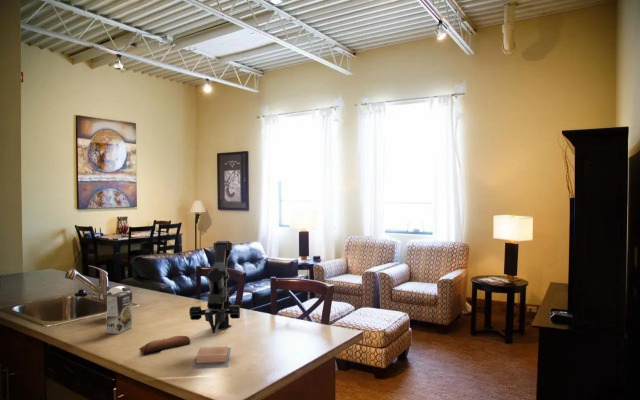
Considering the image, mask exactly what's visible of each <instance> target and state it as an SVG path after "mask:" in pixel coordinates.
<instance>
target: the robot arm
mask: <svg viewBox="0 0 640 400" xmlns="http://www.w3.org/2000/svg"><path fill="white" fill-rule="evenodd" d="M212 247H213V251H214V254H215V258H214V264H213V265H211V266H210V271H208V273H207V277H206V279H207V281H208V287H209V294H208V295H207V305H206V306H207V307H206V308H205V309H202V306H201V305H199V306H198V305H197V306H191V307H190V308H189V312H188V313H189V318H190V320H191V321H195V320H196V321H197V320H198V321H200V319H202V316H204V319H205V321H206V322H208V324H209V326H210V329H211V333H212V334H216V333H217V330H223V329H227V328H231V327H232V324H230V318H231V319H233V320H234V319H235V320H237V319H240V318H241V306H240V305H239V304H238V305H237V304H235V305H233V302H232V301H231V300H230V295H229V294H228V292H227V284H228V283H227V282H228V280H229V279H230V274H229V272H228V260H229V258H230V256H231V254H232V251H233V242H231V241H230V240H217V241H216V242H213V246H212Z"/></svg>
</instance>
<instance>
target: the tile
mask: <svg viewBox="0 0 640 400" xmlns="http://www.w3.org/2000/svg"><path fill="white" fill-rule="evenodd" d="M227 348H228V345H221V346H215V345H214V346H200V347H199V349H198V352H197V354H196V356H197V363H212V362H226V357H227Z"/></svg>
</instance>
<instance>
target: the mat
mask: <svg viewBox="0 0 640 400" xmlns="http://www.w3.org/2000/svg"><path fill="white" fill-rule="evenodd" d="M231 349H232V347H227V357H226V362H212V363H197V355H196V357H195V360H194V362H193V365H192V368H191V369H192V370H193V369H194V370H196V369H197V370H199V369H201V370H202V369H219V368H229V362H230V357H231V356H230V355H231Z"/></svg>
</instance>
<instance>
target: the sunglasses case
mask: <svg viewBox="0 0 640 400" xmlns="http://www.w3.org/2000/svg"><path fill="white" fill-rule="evenodd" d="M190 344H191V339H190V337H189V336H187V335H175V336H170V337H167V338H161V339H155V340H151V341H149V342H148V343H146V344H145V345H143V346H140V347H139V350H140V352H141V353H142V355H148V354H150V353H155V352H157V351H162V350H166V349H172V348H177V347H181V346H186V345H190Z"/></svg>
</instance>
